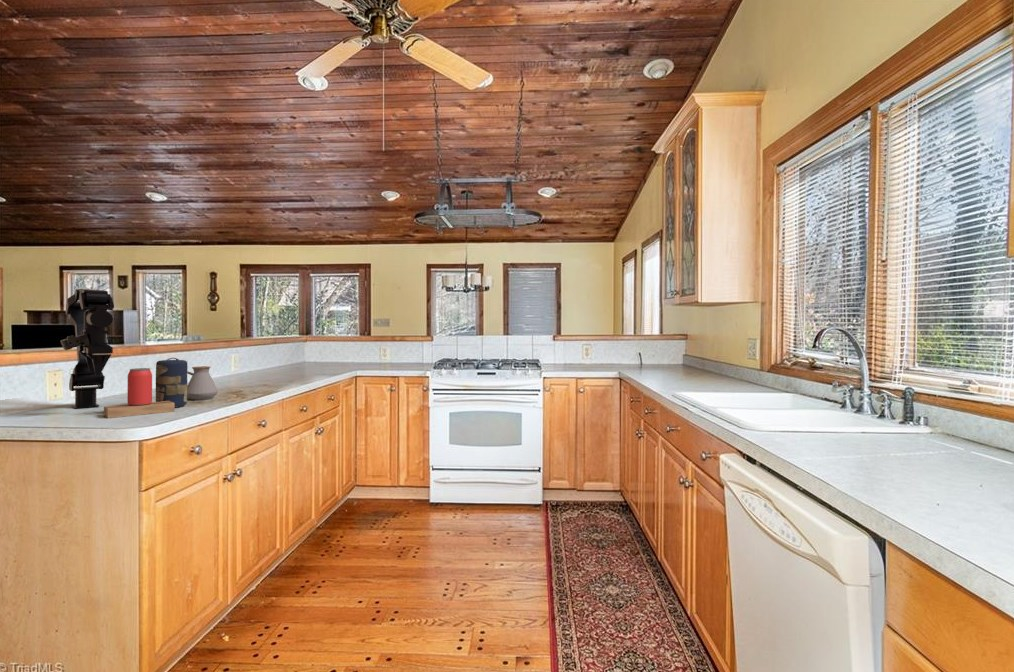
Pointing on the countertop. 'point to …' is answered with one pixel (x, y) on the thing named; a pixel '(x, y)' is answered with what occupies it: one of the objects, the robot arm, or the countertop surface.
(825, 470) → the countertop surface
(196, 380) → the coffee pot
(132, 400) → the beer can
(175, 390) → the canister
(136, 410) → the walnut beam
